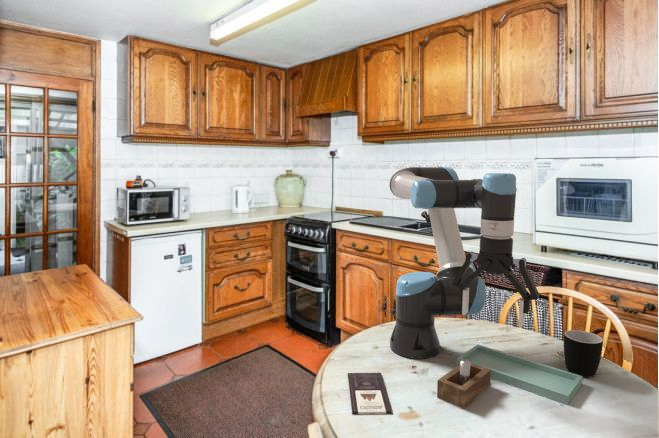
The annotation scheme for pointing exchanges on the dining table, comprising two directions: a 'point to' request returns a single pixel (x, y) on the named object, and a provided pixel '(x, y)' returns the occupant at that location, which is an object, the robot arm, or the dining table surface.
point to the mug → (582, 352)
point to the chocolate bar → (368, 394)
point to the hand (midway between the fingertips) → (492, 319)
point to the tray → (526, 373)
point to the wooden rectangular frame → (463, 386)
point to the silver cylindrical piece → (464, 371)
